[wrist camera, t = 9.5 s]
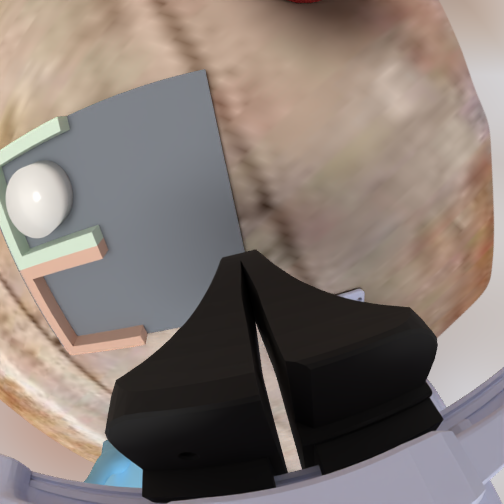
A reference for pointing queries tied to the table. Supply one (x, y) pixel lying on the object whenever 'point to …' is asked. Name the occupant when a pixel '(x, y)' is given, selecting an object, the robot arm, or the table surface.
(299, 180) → the table surface
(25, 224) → the white dome
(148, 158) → the mat
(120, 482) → the teakettle
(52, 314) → the pink u-shaped rail
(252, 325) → the robot arm
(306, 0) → the plastic cup
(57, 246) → the mint green c bracket
